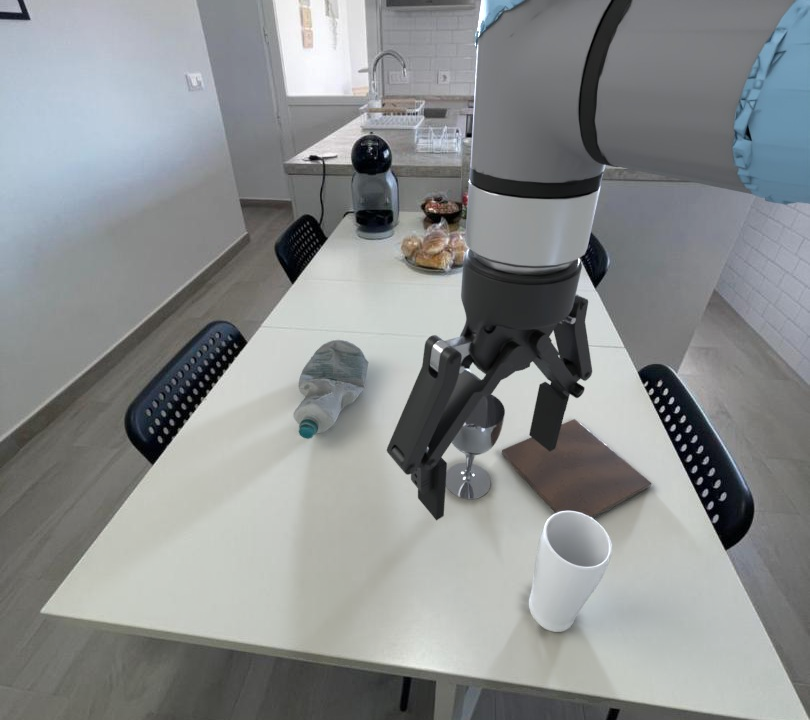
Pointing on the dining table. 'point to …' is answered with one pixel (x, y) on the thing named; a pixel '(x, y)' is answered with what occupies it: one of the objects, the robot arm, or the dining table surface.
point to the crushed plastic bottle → (329, 385)
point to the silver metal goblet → (475, 448)
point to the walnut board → (576, 472)
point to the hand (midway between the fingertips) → (490, 472)
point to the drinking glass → (567, 568)
